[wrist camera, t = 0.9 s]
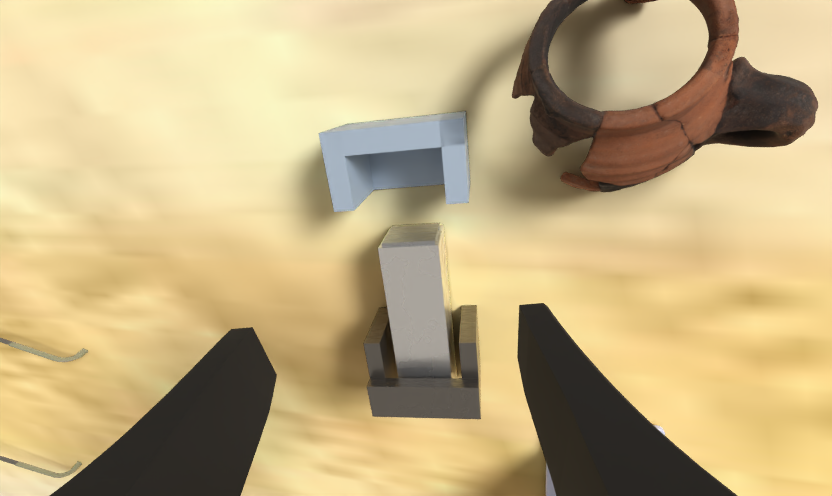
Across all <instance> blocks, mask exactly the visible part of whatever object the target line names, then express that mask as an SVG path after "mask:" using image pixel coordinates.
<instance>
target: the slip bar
mask: <svg viewBox="0 0 832 496" xmlns="http://www.w3.org/2000/svg"><path fill="white" fill-rule="evenodd" d="M378 252H379V258H380V265H381V271H382V277H383V284H384V290H385V296H386V302H387V309H388V315H389V321H390V327H391V334H392V340H393V346H394V352H395V359H396V365H397V371H398V377H399V378H457V368H456V357H455V346H454V335H453V324H452V313H451V302H450V291H449V280H448V269H447V258H446V247H445V236H444V225H440V223H427V224H410V225H394V226H392V227H391V228H390V229H389V231H388V232H387V234H386V236H385V237H384V239H383V241H382V242H381V244H380V246H379V247H378Z"/></svg>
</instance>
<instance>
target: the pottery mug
mask: <svg viewBox="0 0 832 496" xmlns="http://www.w3.org/2000/svg"><path fill="white" fill-rule="evenodd" d="M586 1H587V0H552V1H551V2H550V3H549V4H548V5H547V7H546V8H545V9H544V11H543V12H542V13H541V15H540V17H539V19H538V21H537V23H536V25H535V28H534V30H533V32H532V35H531V36H530V38H529V40H528V42H527V44H526V46H525V49H524V53H523V55H522V59H521V63H520V66H519V69H518V72H517V76H516V79H515V81H514V86H513V92H512V98H515V99H516V98H518V97H520V96H528V95H531V96H534V97H535V99H534V101H533V104H532V107H531V109H530V123H531V126H532V129H533V138H532V139H533V143H534V145H535V146H536V147H537V148H538V149H539V150H540V151H541V152H542V153H543V154H544V155H546V156H552V155H553V154H554V153H555V151H556V150H557V148H560V147H564V146H567V145H569V144H571V143H573V142H576V141H580V140H583V139H586V138H590V137H593V141H592V144H591V146H590V149H589V152H588V155H587V157H586V159H585V161H584V162H583V163H582V165H581V167H580V171H581V172H582V174H583V176H585V177H586V178H587V179H585V178H582V177H579V176H576V175H574V174H571V173H568V172H565V173H563V174H562V176H561V181H562V182H564V183H566V184H568V185H570V186H572V187H575V188H581V189H585V190H589V191H601V192H612V191H616V190H620V189H623V188H627V187H631V186H634V185H637V184H640V183H643V182H646V181H648V180H651V179H653V178H655V177H657V176H660V175H662V174H664V173H666V172H668V171H670V170H672V169H674V168H675V167H677V166H679V165H680V164H682V163H684V162H685V161H686V160H688V159H689V158H690V157H692V156H693V155H694V153H695V151H696V150H698V149H699V148H701V147H702V146H703V145H707V144H715V143H721V144H729V145H738V146H747V147H777V146H785V145H789V144H791V143H792V142H794V141H795V140H797V139H798V138H799V137H801V136H802V135H804V134H805V132H806V131H807V130H808V129H810V128H811V127H812V126H813V124H814V122H815V113H816V111H817V109H818V102H817V99H816V97H815V95H814V93H813V91H812V89H811V88H810V87H809V86H808V85H806V84H805V83H803V82H801V81H798V80H795V79H793V78H790V77H786V76H781V75H772V74H767V73H762V72H760V71H758V70H756V69H755V68H753V67H752V66H751V65H750V63H749V62H748V60H747V59H746V58H745V57H739V58H737V59H735V60H734V61H732V58H733V56H734V52H735V49H736V47H737V43H738V39H739V37H738V33H739V27H738V23H739V18H738V15H737V9H736V6H735V1H734V0H690V1H691V2H692V3H693V4H694V5H695V6H696V7H697V8H698V9H699V10H700V12H701V13H702V15H703V17H704V18H705V21H706V24H707V27H708V32H709V42H708V52H707V54H706V57H705V59H704V61H703V62H702V64H701V66H700V68H699V69H698V71H697V72H696V73H695V75H694V76H693V77H692V78H691V79H690V80H689V81H688V82H687V83H686V84H685V85H684V86H683V87H681V88H680V89H679V90H677V91H676V92H675V93H673V94H672V95H670V96H668V97H667V98H665V99H663V100H660V101H658V102H656V103H654V104H652V105H648V106H644V107H641V108H638V109H632V110H625V111H602V112H600V111H597V110H595V109H592V108H588V107H585V106H583V105H580V104H578V103H576V102H574V101H573V100H571V99H570V98H569V97H567V96H566V95H565V94H564V93H563V92H562V91H561V90H560V89H559V87H558V86H557V85H556V84H555V82H554V80H553V78H552V76H551V74H550V73H549V67H548V51H549V46H550V43H551V41H552V38H553V36H554V34H555V32H556V30H557V28H558V27H559V26H560V24H561V23H562V22H563V21H564V19H565V18H566V17H567V16H568V15H570V14H571V13H572V12H573V11H574V10H575V9H576V8H577V7H578V6H580V5H581V4H583V3H584V2H586ZM652 1H656V0H625V2H627V3H630V4H635V3H645V2H652Z"/></svg>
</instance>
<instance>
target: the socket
mask: <svg viewBox="0 0 832 496" xmlns="http://www.w3.org/2000/svg"><path fill="white" fill-rule="evenodd" d="M319 137H320V143H321V148H322V153H323V158H324V163H325V168H326V173H327V178H328V183H329V188H330V193H331V198H332V204H333V209H334V212H339V211H354V210H355V209H356V208H357V207H358V206H359V205H360V204H361V203H362V202H363V201H364V200H365V199H366V198H367V197H368V195H369V194H370V193H371V192H372V191H373V190H377V189H390V188H403V187H416V186H429V185H442V184H445V194H446V204H456V203H469V191H470V170H469V153H468V137H467V121H466V111H463V112H453V113H444V114H435V115H426V116H416V117H407V118H398V119H389V120H380V121H370V122H361V123H352V124H345V125H342V126H339V127H336V128H333V129H330V130H327V131H324V132H321V133H319Z"/></svg>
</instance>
